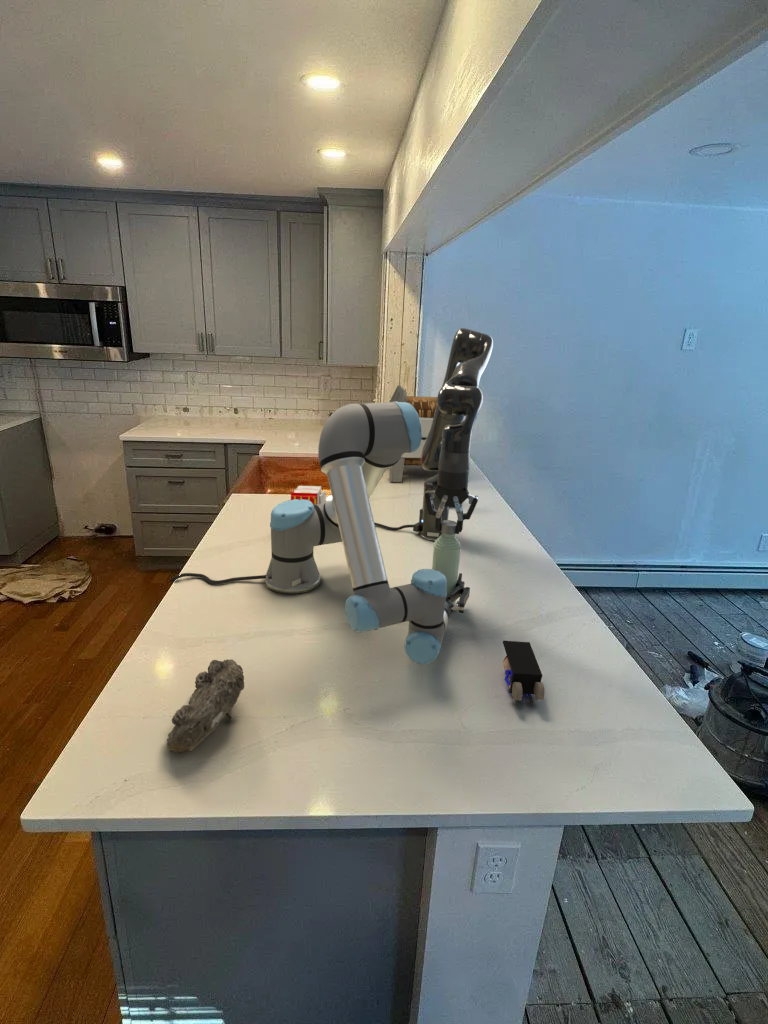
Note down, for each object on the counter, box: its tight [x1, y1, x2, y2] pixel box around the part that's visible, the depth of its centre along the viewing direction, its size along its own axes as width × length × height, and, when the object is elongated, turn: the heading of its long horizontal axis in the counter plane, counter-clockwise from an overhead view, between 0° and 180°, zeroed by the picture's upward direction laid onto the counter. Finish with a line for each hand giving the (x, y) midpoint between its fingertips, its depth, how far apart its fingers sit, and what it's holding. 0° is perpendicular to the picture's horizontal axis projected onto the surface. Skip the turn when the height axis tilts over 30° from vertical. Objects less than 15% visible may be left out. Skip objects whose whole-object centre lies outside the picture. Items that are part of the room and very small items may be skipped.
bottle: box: [431, 533, 462, 605], centre depth 149 cm, size 7×7×23 cm
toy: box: [290, 485, 327, 505], centre depth 209 cm, size 12×13×30 cm
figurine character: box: [502, 639, 546, 706], centre depth 119 cm, size 7×8×15 cm
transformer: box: [388, 384, 465, 483], centre depth 268 cm, size 34×33×41 cm
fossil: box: [166, 658, 245, 754], centre depth 106 cm, size 22×10×15 cm
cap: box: [440, 519, 457, 535], centre depth 145 cm, size 4×4×2 cm
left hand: (446, 575), depth 155 cm, fingers closed on bottle, 7 cm apart
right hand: (448, 531), depth 145 cm, fingers closed on cap, 4 cm apart
